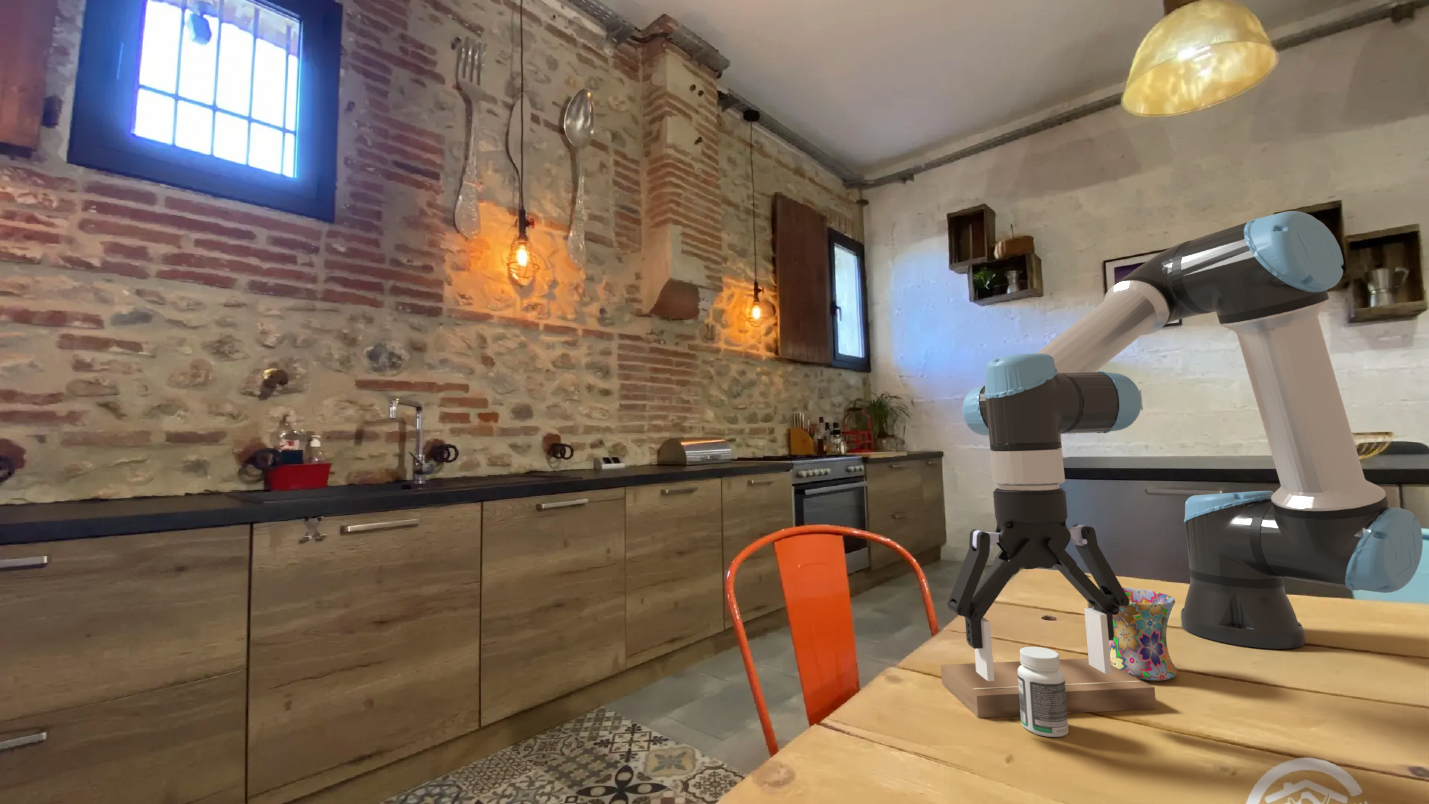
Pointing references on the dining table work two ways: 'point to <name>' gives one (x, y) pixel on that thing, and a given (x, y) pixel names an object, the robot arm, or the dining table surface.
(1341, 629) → the dining table surface
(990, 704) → the board
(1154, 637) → the mug
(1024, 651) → the pill bottle
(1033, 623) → the dining table surface
